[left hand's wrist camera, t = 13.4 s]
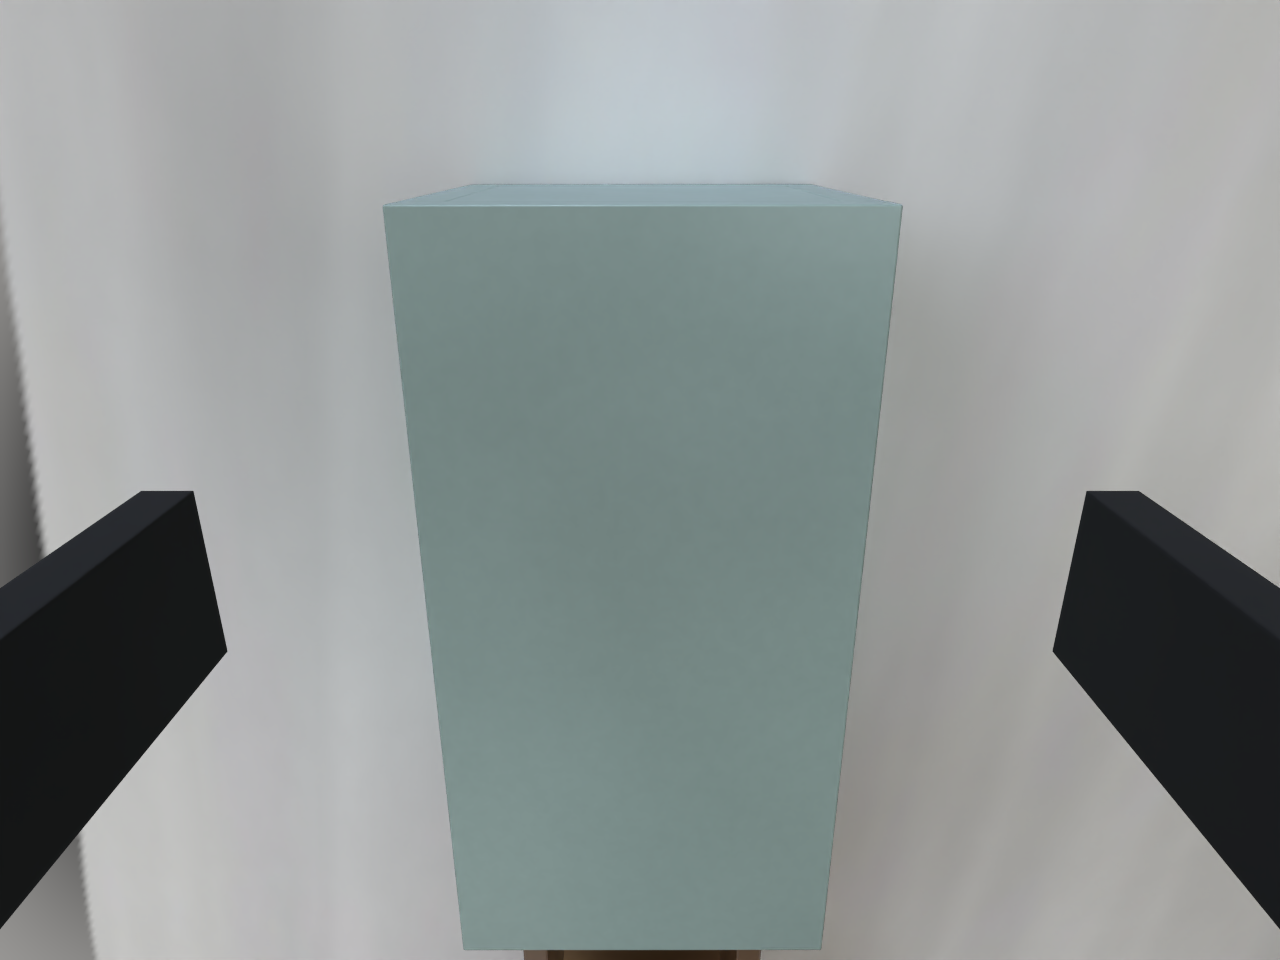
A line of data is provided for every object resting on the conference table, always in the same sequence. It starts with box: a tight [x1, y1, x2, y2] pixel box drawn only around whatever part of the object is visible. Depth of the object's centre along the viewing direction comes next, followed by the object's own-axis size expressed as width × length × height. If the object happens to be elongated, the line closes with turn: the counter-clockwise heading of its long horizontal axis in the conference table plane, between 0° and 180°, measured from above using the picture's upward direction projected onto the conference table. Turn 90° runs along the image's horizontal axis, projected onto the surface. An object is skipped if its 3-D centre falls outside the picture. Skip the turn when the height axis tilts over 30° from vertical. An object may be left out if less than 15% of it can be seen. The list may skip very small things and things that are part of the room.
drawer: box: [524, 950, 761, 960], centre depth 31 cm, size 26×10×8 cm, turn 0°
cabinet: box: [383, 184, 903, 950], centre depth 26 cm, size 21×11×10 cm, turn 0°
